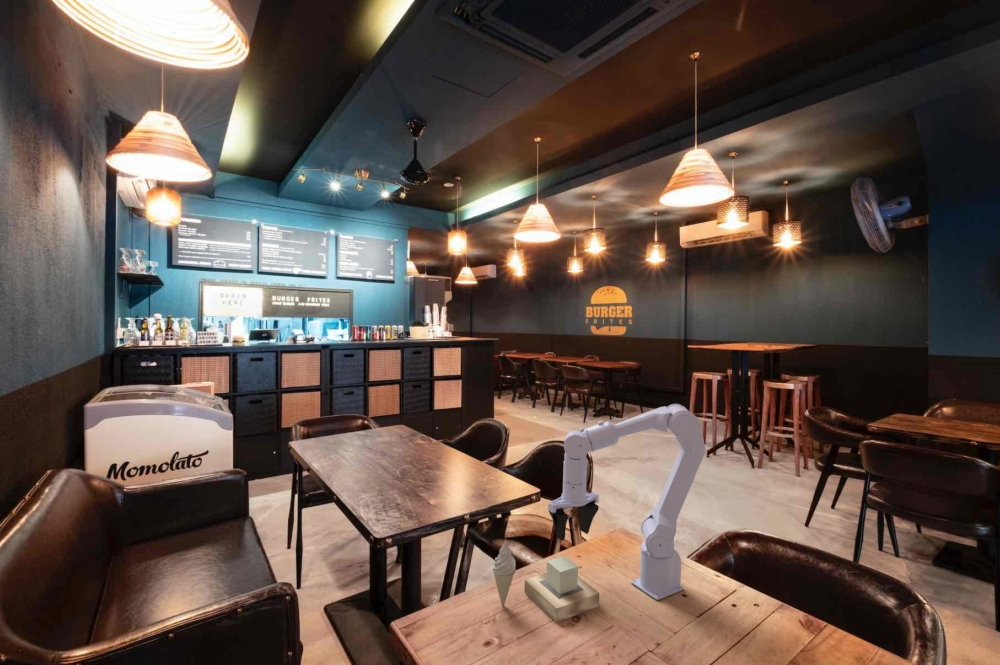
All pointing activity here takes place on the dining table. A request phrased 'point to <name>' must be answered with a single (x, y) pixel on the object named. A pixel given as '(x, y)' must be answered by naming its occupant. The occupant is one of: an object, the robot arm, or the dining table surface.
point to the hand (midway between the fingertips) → (572, 535)
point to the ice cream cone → (504, 571)
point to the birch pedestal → (561, 598)
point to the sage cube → (562, 575)
